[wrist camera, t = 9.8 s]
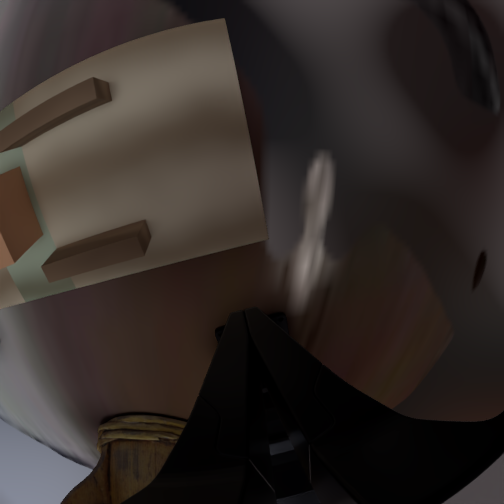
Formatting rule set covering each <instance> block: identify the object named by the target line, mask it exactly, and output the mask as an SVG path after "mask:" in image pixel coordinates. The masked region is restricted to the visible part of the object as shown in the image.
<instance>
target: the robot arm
mask: <svg viewBox="0 0 504 504" xmlns="http://www.w3.org/2000/svg"><path fill="white" fill-rule="evenodd" d="M281 317H282V318H281ZM279 318H281V319H279ZM219 333H222V334H219ZM215 336H216V339H217V341H218V346H217V349H216V351H215V354H214V356H213V359H212V362H211V364H210V367H209V369H208V372H207V374H206V377H205V380H204V382H203V385H202V387H201V390H200V392H199V396H198V397H197V400H196V402H195V405H194V407H193V410H192V412H191V414H190V417H189V419H188V421H187V423H186V425H185V427H184V429H183V431H182V433H181V435H180V437H179V438H178V440H177V442H176V444H175V445H174V447H173V449H172V451H171V452H170V454H169V456H168V458H167V459H166V461H165V463H164V465H163V466H162V468H161V470H160V471H159V473H158V474H157V476H156V477H155V478H154V479H153V480H152V481H151V483H149V484H148V485H147V486H146V487H145V488H143V489H142V490H140V491H139V492H137V493H136V494H134V495H133V496H131V497H129V498H128V499H126V500H125V501H123V502H121V503H120V504H504V411H503V412H502V413H501V414H499V415H498V416H496V417H494V418H492V419H489V420H485V421H477V422H461V421H457V422H456V421H437V420H424V419H415V418H411V417H408V416H404V415H402V414H400V413H398V412H396V411H394V410H392V409H390V408H388V407H387V406H385V405H383V404H381V403H380V402H378V401H376V400H374V399H373V398H371V397H369V396H368V395H366V394H364V393H362V392H361V391H359V390H358V389H356V388H354V387H353V386H351V385H350V384H348V383H347V382H345V381H344V380H343V379H341V378H340V377H339V376H337V375H336V374H335V373H333V372H332V371H331V370H330V369H328V368H327V367H326V366H325V365H322V363H321V362H320V361H319V360H318V359H316V358H315V357H314V356H313V355H312V354H310V353H309V352H308V351H307V350H306V349H305V348H303V347H302V346H301V345H300V344H299V343H298V342H296V341H295V340H294V339H293V338H292V337H291V336H289V333H288V326H287V319H286V316H285V314H284V313H276V314H273V315H269V316H267V315H266V314H264V313H263V312H262V311H261V310H260V309H259V308H258V307H252V308H248V309H245V310H244V311H243V310H240V311H236V312H232V313H230V315H229V318H228V320H227V323H226V326H225V327H221V328H218V329H216V330H215Z"/></svg>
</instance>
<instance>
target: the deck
mask: <svg viewBox="0 0 504 504" xmlns="http://www.w3.org/2000/svg"><path fill="white" fill-rule="evenodd" d="M19 166H20V169H21V172H22V176H23V179H24V182H25V185H26V189H27V192H28V195H29V198H30V201H31V203H32V206H33V209H34V212H35V214H36V217H37V220H38V222H39V225H40V227H41V230H42V232H43V234H44V235H43V236H41V237H40V238H39V239H38V240H37V241H36V242H35V243H34V244H33V245H32V246H31V247H30V248H29V249H28V250H27V251H26V252H25V253H24V254H23V255H22V256H21V257H20V258H19V259H18V260H17V261H16V262H15V263H14V264H12V265H10V266H7V267H5V268H2V269H0V309H2V308H6V307H9V306H13V305H17V304H20V303H24V302H28V301H31V300H35V299H39V298H43V297H46V296H50V295H54V294H57V293H61V292H65V291H69V290H72V289H76V288H80V287H84V286H88V285H91V284H95V283H99V282H103V281H106V280H110V279H114V278H118V277H122V276H126V275H129V274H133V273H137V272H141V271H145V270H149V269H153V268H157V267H160V266H164V265H168V264H172V263H176V262H180V261H184V260H188V259H192V258H196V257H200V256H204V255H208V254H212V253H216V252H219V251H223V250H227V249H231V248H235V247H239V246H243V245H247V244H251V243H256V242H260V241H264V240H268V239H269V238H268V232H267V227H266V221H265V216H264V210H263V205H262V199H261V194H260V188H259V183H258V178H257V172H256V167H255V162H254V157H253V152H252V146H251V141H250V136H249V131H248V126H247V121H246V116H245V111H244V106H243V101H242V97H241V92H240V87H239V82H238V77H237V73H236V68H235V63H234V58H233V54H232V49H231V45H230V41H229V36H228V31H227V27H226V22H225V19H224V18H223V19H216V20H211V21H205V22H199V23H194V24H190V25H185V26H181V27H177V28H173V29H169V30H165V31H162V32H158V33H155V34H151V35H148V36H145V37H142V38H139V39H136V40H133V41H130V42H127V43H124V44H122V45H119V46H116V47H114V48H111V49H109V50H106V51H104V52H102V53H99V54H97V55H95V56H92V57H90V58H88V59H86V60H84V61H82V62H80V63H78V64H76V65H74V66H72V67H70V68H68V69H66V70H64V71H62V72H60V73H58V74H57V75H55V76H53V77H51V78H49V79H48V80H46V81H44V82H43V83H41V84H39V85H38V86H36V87H35V88H33V89H31V90H30V91H28V92H27V93H25V94H24V95H22V96H21V97H19V98H18V99H17V100H15V101H14V102H12V103H11V104H10V105H8V106H7V107H6V108H4V109H3V110H2V111H0V174H3V173H5V172H7V171H10V170H12V169H14V168H17V167H19Z"/></svg>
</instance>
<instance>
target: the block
mask: <svg viewBox="0 0 504 504" xmlns="http://www.w3.org/2000/svg"><path fill="white" fill-rule="evenodd" d="M43 235H44V234H43V232H42V230H41V227H40V225H39V222H38V220H37V217H36V214H35V212H34V209H33V206H32V203H31V201H30V198H29V195H28V192H27V189H26V185H25V182H24V179H23V176H22V172H21V169H20V166H19V167H17V168H14V169H12V170H10V171H7V172H5V173H3V174H0V269H2V268H5V267H7V266H10V265H12V264H14V263H15V262H16V261H17V260H18V259H19V258H20V257H21V256H22V255H23V254H24V253H25V252H26V251H27V250H28V249H29V248H30V247H31V246H32V245H33V244H34V243H35V242H36V241H37V240H38V239H39V238H40V237H41V236H43Z"/></svg>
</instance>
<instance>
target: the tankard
mask: <svg viewBox="0 0 504 504" xmlns="http://www.w3.org/2000/svg"><path fill="white" fill-rule="evenodd" d="M186 423H187V422H185V421H180V420H176V419H172V418H167V417H161V416H153V415H125V416H118V417H115V418H113V419H111V420H109V421H108V422H106V423H104V424H102V425H100V426H99V428H98V443H97V449H98V451H99V452H100V453H101V457H100V459H99V461H98V464H97V465H96V467H95V468H94V469H93V471H92V472H91V473H90V475H89V476H87V477H86V478H85V479H84V480H83V481H82V482H80V483H79V484H78V485H77V486H75V487H74V488H73V489H72V490H71V491H70V492H69V493H68V495H67V496H66V497H65V498H64V499H63V501H62V502H61V504H120V503H121V502H123V501H125V500H126V499H128V498H129V497H131V496H133V495H134V494H136V493H137V492H139V491H140V490H142V489H143V488H145V487H146V486H147V485H148V484H149V483H151V481H152V480H153V479H154V478H155V477H156V476H157V474H158V473H159V471H160V470H161V468H162V466H163V465H164V463H165V461H166V459H167V458H168V456H169V454H170V452H171V451H172V449H173V447H174V445H175V444H176V442H177V440H178V438H179V437H180V435H181V433H182V431H183V429H184V427H185V425H186Z"/></svg>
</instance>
